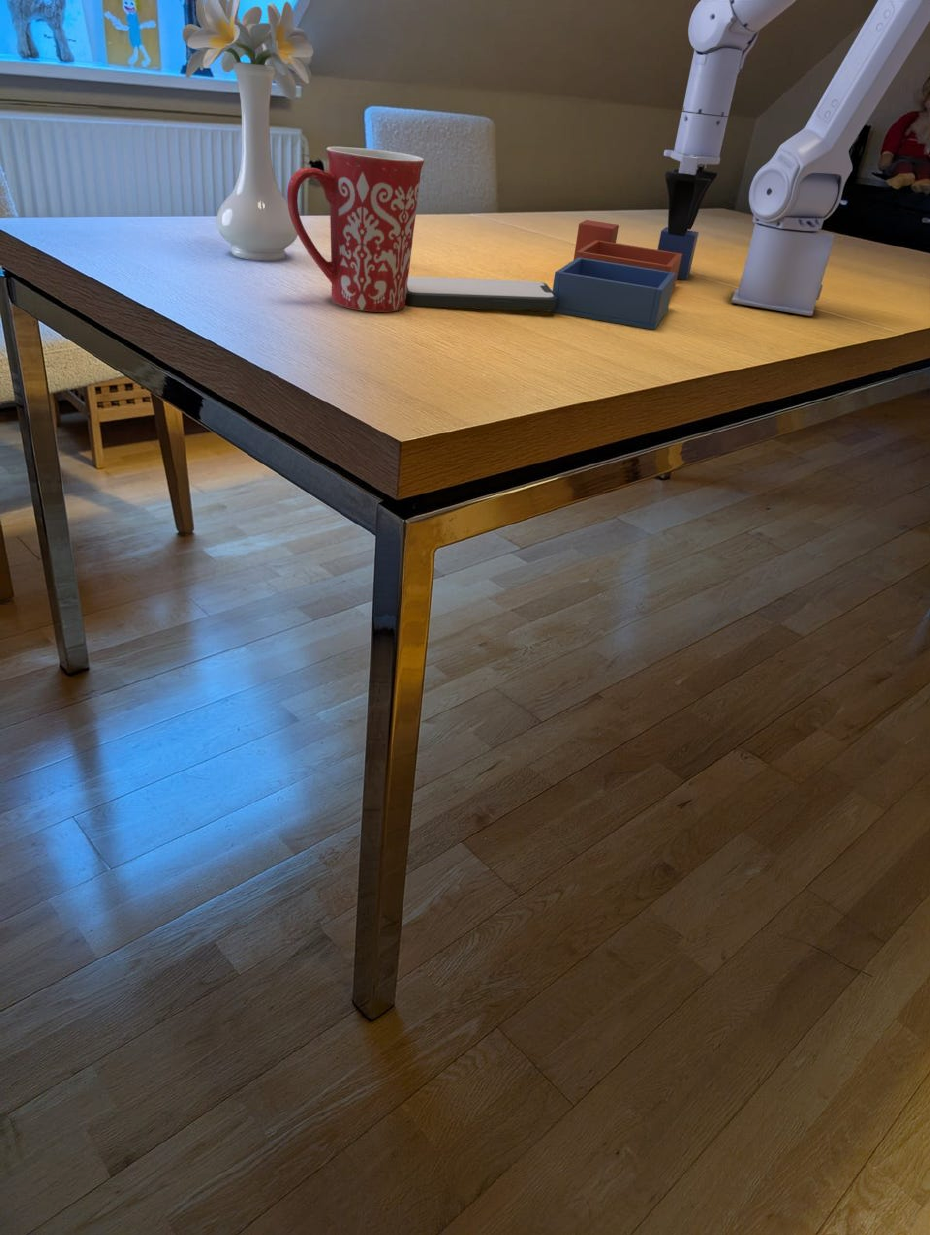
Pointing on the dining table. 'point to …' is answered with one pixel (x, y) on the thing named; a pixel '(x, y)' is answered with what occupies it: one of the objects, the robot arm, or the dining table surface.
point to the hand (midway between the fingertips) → (679, 231)
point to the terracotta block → (595, 233)
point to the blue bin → (613, 292)
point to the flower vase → (253, 114)
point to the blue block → (680, 249)
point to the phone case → (480, 294)
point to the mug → (365, 224)
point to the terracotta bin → (632, 256)
